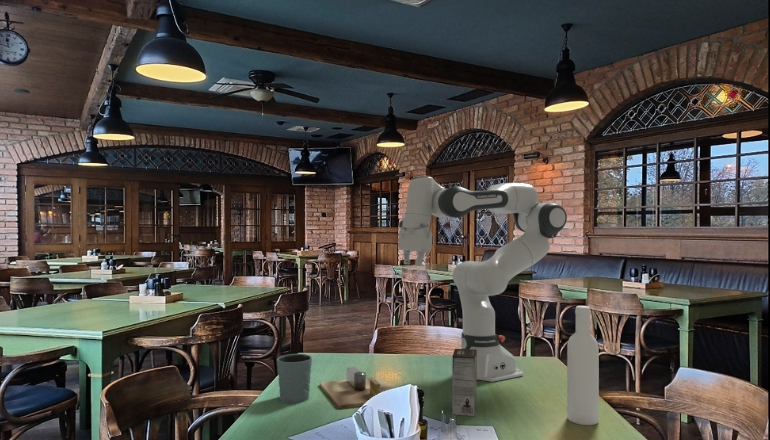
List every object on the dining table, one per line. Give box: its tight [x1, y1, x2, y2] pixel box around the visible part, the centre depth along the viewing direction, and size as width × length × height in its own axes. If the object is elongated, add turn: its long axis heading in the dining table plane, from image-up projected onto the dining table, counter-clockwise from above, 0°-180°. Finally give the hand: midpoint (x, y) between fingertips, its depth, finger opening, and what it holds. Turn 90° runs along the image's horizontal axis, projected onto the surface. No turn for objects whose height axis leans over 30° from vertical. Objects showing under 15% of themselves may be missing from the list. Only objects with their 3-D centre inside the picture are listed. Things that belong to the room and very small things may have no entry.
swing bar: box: [345, 366, 367, 390], centre depth 164 cm, size 12×4×5 cm, turn 20°
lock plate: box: [319, 376, 393, 410], centre depth 159 cm, size 20×23×5 cm
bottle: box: [566, 305, 600, 426], centre depth 138 cm, size 8×8×30 cm
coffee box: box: [451, 348, 477, 417], centre depth 145 cm, size 9×6×16 cm
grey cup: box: [276, 353, 313, 404], centre depth 154 cm, size 10×10×12 cm
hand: (412, 265), depth 173 cm, fingers open, 8 cm apart
